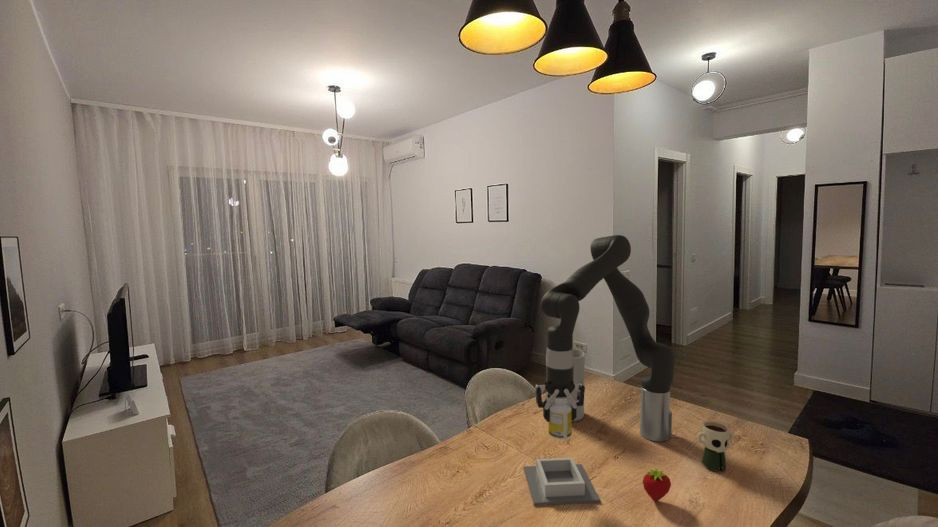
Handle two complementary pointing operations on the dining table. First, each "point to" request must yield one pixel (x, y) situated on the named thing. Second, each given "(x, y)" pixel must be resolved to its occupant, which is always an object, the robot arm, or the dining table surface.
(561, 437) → the pill bottle
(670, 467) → the dining table surface
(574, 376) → the cylinder vase
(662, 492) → the strawberry
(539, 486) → the bottle holder
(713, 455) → the character mug
